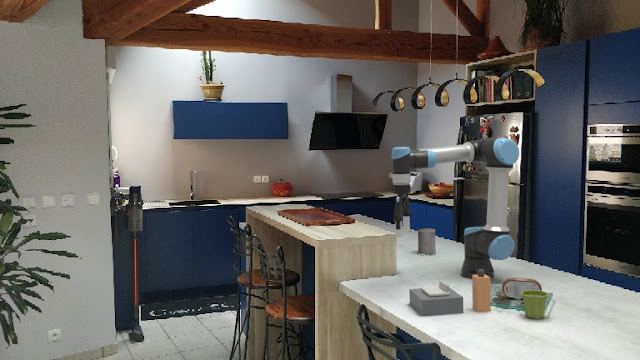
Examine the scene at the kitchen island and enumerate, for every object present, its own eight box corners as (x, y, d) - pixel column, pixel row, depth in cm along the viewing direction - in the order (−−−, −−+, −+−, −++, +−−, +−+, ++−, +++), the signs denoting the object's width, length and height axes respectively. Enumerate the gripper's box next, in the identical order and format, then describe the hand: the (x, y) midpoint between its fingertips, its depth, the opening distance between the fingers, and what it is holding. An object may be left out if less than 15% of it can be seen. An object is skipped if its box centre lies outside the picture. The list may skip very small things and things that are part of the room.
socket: (448, 300, 227) (447, 286, 227) (463, 312, 211) (463, 297, 211) (409, 303, 225) (409, 289, 225) (422, 316, 209) (422, 300, 209)
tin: (541, 299, 225) (541, 278, 224) (542, 301, 222) (542, 280, 221) (502, 297, 230) (502, 276, 229) (502, 299, 227) (501, 278, 226)
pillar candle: (416, 252, 322) (415, 226, 321) (432, 251, 323) (432, 225, 322) (421, 256, 313) (420, 229, 311) (438, 255, 314) (437, 228, 312)
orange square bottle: (484, 307, 217) (484, 267, 216) (490, 311, 212) (490, 270, 211) (472, 308, 216) (472, 268, 215) (477, 312, 212) (477, 271, 210)
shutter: (440, 288, 223) (440, 280, 223) (450, 295, 213) (449, 286, 213) (421, 289, 222) (421, 281, 222) (429, 296, 212) (429, 287, 212)
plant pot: (517, 312, 209) (517, 289, 209) (543, 312, 209) (542, 289, 208) (525, 321, 200) (525, 297, 199) (552, 320, 200) (552, 296, 199)
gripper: (399, 181, 248) (401, 229, 250) (384, 186, 225) (386, 239, 227) (416, 181, 245) (417, 229, 247) (403, 186, 222) (404, 239, 224)
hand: (402, 234), depth 237 cm, fingers open, 13 cm apart
